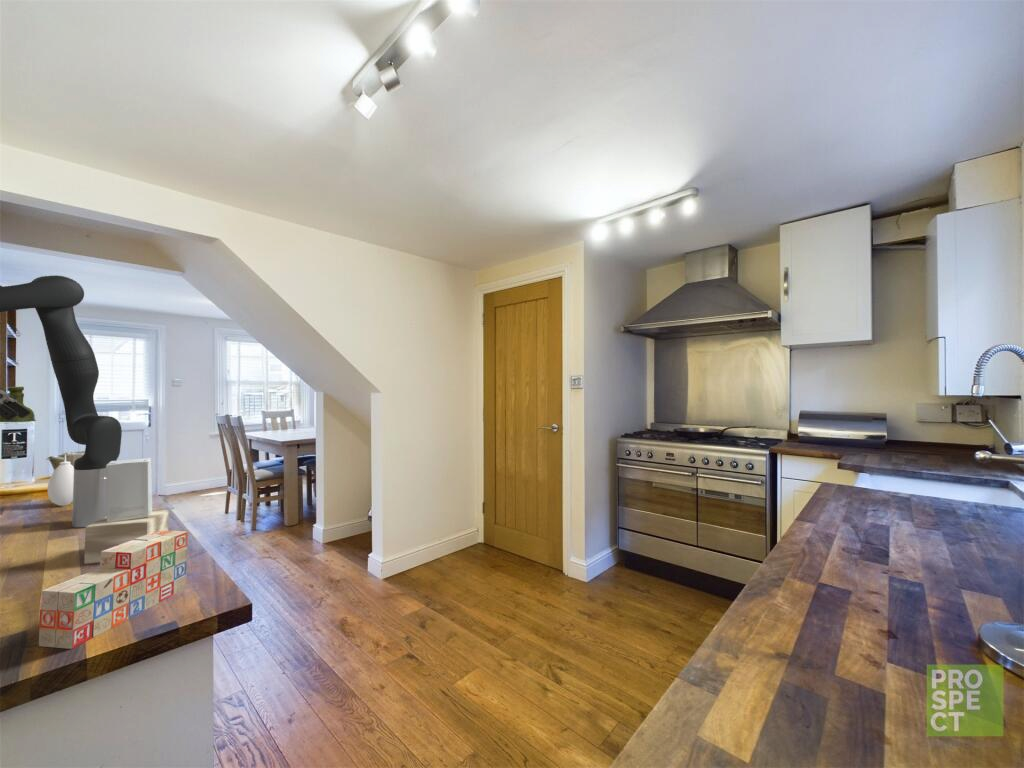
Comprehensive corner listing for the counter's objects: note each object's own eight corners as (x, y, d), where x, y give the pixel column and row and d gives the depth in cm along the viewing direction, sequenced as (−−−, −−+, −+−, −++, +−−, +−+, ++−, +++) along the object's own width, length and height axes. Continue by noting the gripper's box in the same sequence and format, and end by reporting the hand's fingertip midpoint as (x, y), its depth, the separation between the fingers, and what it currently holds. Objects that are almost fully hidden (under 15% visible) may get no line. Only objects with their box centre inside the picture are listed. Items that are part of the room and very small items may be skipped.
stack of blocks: (71, 650, 67) (74, 574, 67) (37, 647, 68) (40, 572, 68) (186, 588, 88) (188, 530, 88) (159, 586, 89) (161, 528, 89)
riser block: (112, 546, 110) (114, 512, 111) (167, 541, 114) (168, 509, 115) (84, 564, 99) (85, 526, 99) (146, 558, 103) (147, 522, 103)
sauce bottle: (55, 503, 148) (56, 453, 148) (84, 501, 151) (85, 452, 152) (41, 509, 141) (43, 456, 141) (72, 507, 144) (74, 455, 145)
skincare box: (152, 512, 111) (154, 457, 112) (148, 518, 106) (150, 460, 107) (109, 517, 107) (111, 459, 107) (103, 523, 102) (105, 463, 102)
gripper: (-47, 357, 95) (26, 407, 101) (-19, 360, 106) (45, 405, 113) (-86, 380, 91) (-8, 429, 98) (-53, 380, 103) (15, 425, 109)
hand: (20, 416), depth 105 cm, fingers open, 8 cm apart
